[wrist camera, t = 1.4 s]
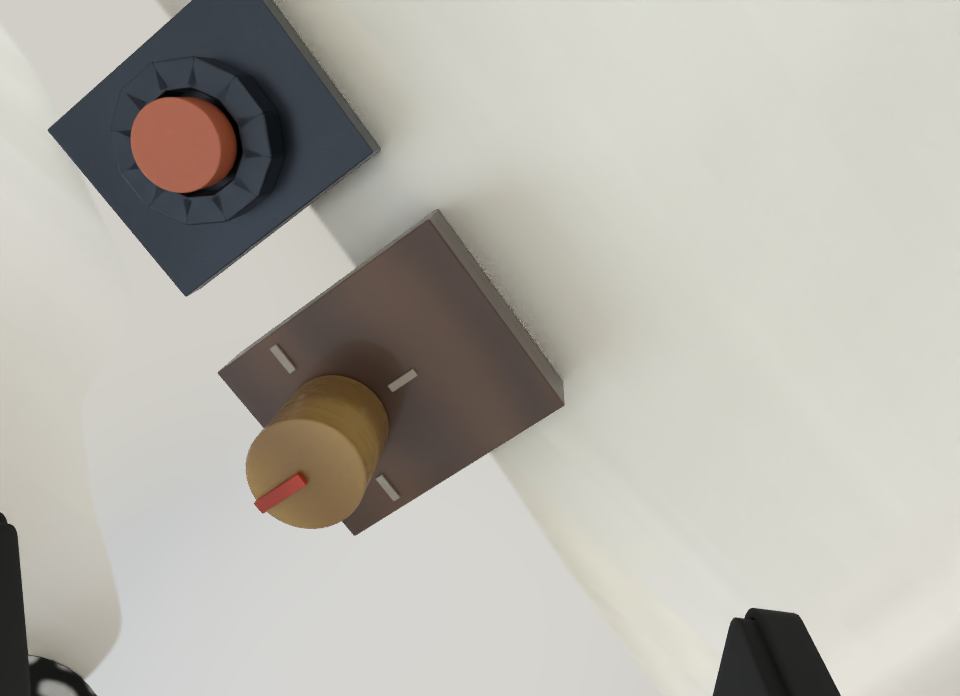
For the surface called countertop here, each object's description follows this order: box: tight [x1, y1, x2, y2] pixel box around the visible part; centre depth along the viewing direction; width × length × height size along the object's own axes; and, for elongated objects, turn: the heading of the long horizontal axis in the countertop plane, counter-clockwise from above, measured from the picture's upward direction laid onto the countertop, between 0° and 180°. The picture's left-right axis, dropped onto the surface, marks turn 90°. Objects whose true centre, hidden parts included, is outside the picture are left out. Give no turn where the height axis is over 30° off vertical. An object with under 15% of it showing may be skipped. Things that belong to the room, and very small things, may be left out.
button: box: [131, 97, 237, 193], centre depth 31 cm, size 4×4×2 cm
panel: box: [218, 209, 564, 535], centre depth 36 cm, size 14×10×3 cm
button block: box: [48, 0, 381, 296], centre depth 33 cm, size 11×9×4 cm
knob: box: [246, 375, 389, 529], centre depth 33 cm, size 5×5×5 cm
